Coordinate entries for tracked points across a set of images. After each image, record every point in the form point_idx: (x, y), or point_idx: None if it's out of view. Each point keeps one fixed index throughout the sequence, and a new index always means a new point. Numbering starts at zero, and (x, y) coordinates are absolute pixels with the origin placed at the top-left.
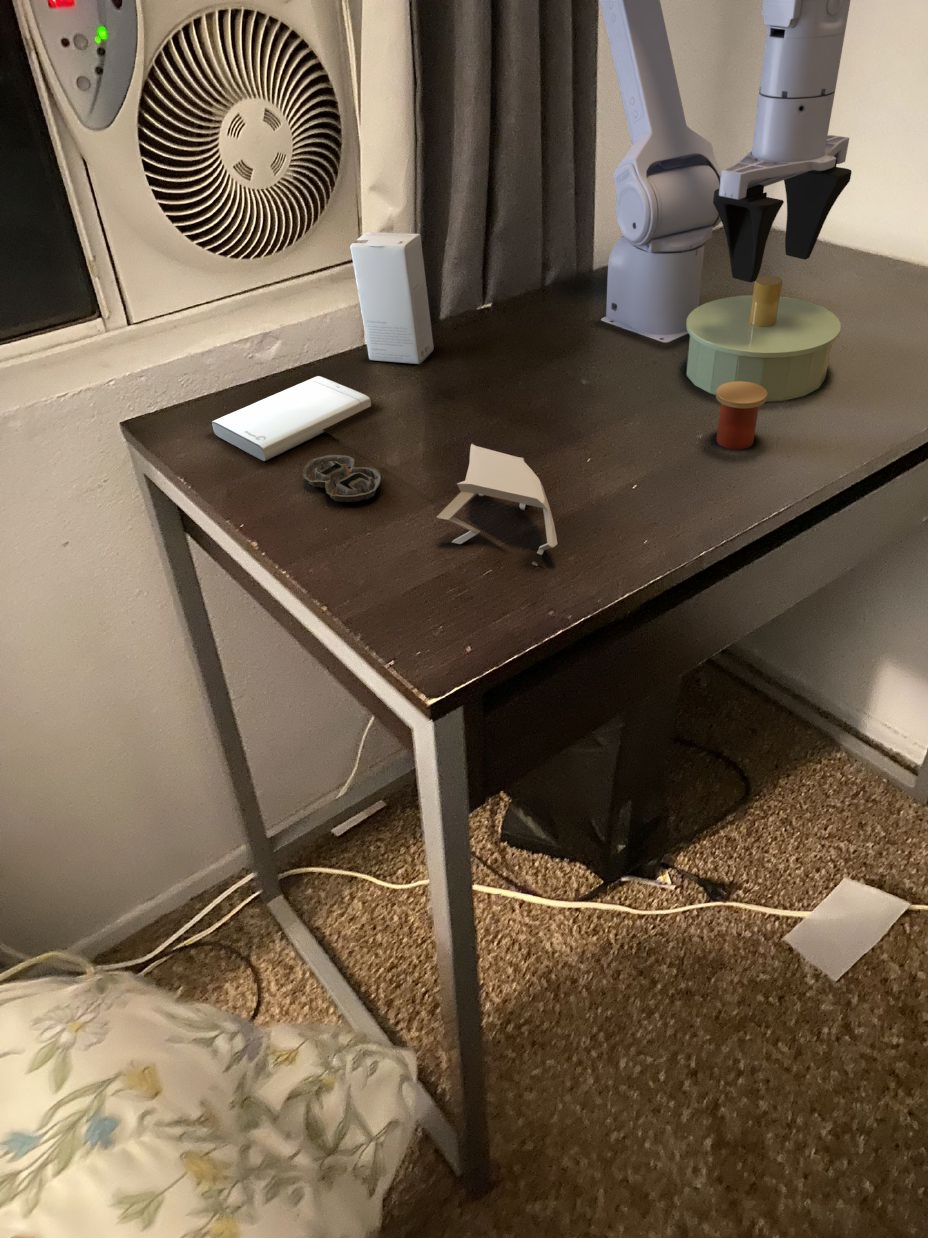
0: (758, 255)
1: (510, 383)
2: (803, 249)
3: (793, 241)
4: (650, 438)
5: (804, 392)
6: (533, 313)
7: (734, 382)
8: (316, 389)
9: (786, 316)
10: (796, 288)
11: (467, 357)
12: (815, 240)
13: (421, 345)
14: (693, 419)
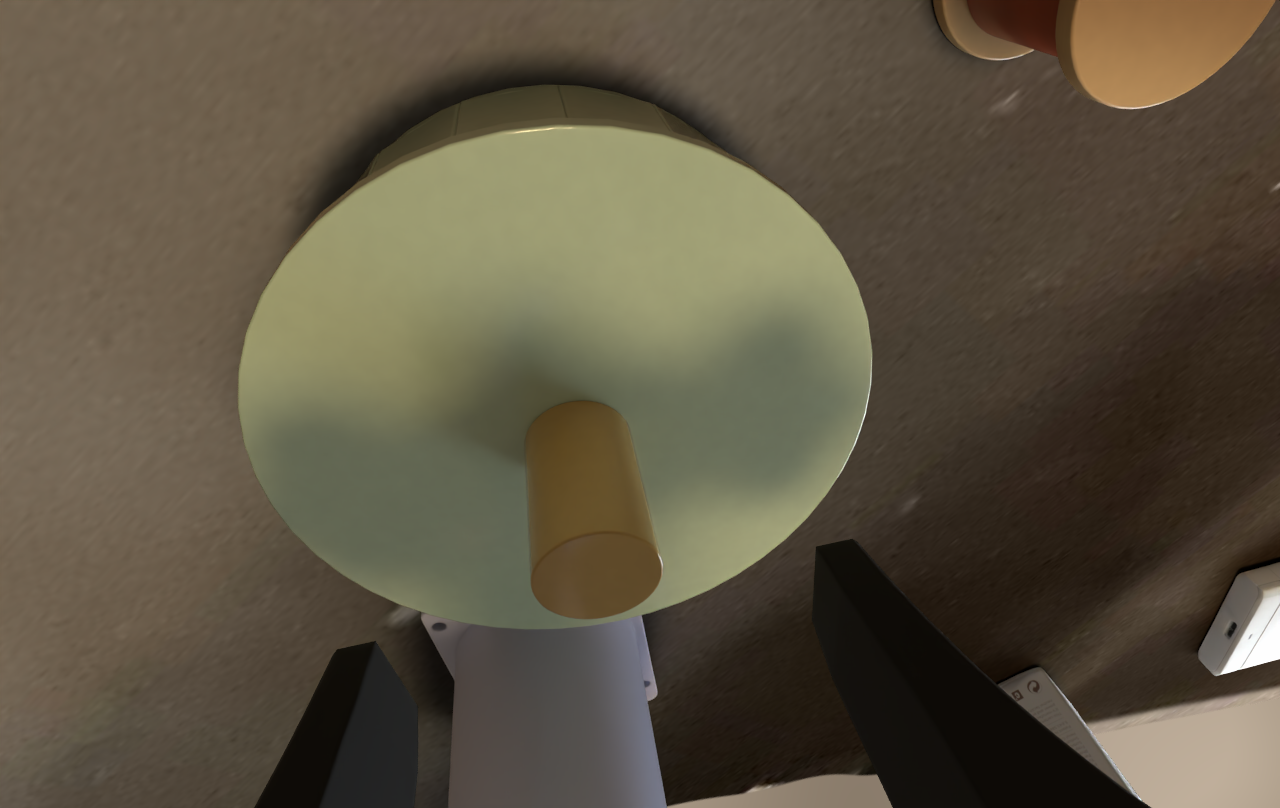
0: (947, 650)
1: (1008, 558)
2: (374, 700)
3: (397, 767)
4: (1093, 184)
5: (562, 88)
6: (718, 751)
7: (1110, 86)
8: (1273, 641)
9: (457, 437)
10: (24, 687)
11: None
12: (308, 737)
13: (1043, 702)
14: (920, 205)
